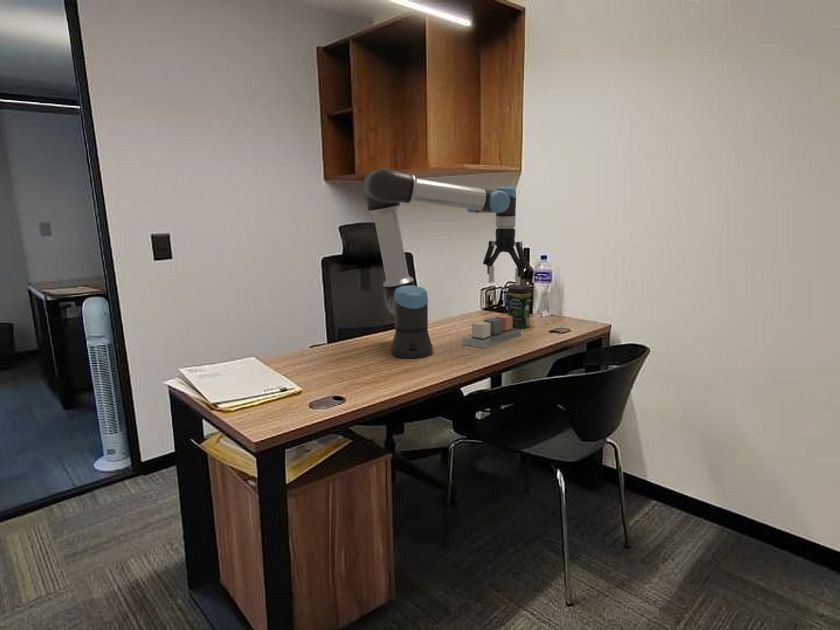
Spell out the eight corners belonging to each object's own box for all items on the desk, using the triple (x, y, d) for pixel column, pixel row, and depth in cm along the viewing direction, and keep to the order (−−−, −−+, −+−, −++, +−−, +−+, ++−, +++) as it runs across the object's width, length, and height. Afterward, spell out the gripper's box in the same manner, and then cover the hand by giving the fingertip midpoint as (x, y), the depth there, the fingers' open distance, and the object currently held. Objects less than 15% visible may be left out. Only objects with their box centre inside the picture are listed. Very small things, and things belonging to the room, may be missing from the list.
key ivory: (482, 338, 193) (482, 325, 192) (471, 336, 196) (471, 323, 195) (490, 335, 196) (490, 322, 195) (479, 333, 200) (479, 321, 198)
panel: (484, 348, 190) (484, 341, 189) (462, 344, 196) (462, 337, 196) (520, 335, 209) (520, 329, 208) (499, 331, 215) (499, 325, 215)
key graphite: (494, 334, 198) (494, 321, 197) (483, 332, 202) (483, 319, 201) (501, 331, 202) (501, 319, 201) (490, 330, 205) (491, 317, 204)
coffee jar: (503, 326, 225) (504, 284, 221) (513, 323, 230) (514, 282, 227) (523, 329, 218) (524, 286, 215) (532, 326, 224) (534, 284, 220)
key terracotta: (505, 330, 204) (505, 318, 203) (495, 328, 208) (495, 316, 207) (512, 328, 208) (512, 316, 207) (501, 326, 211) (501, 314, 210)
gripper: (537, 227, 195) (535, 285, 200) (485, 227, 210) (484, 280, 215) (527, 228, 190) (526, 287, 194) (474, 227, 205) (474, 282, 209)
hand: (504, 283), depth 204 cm, fingers open, 11 cm apart
